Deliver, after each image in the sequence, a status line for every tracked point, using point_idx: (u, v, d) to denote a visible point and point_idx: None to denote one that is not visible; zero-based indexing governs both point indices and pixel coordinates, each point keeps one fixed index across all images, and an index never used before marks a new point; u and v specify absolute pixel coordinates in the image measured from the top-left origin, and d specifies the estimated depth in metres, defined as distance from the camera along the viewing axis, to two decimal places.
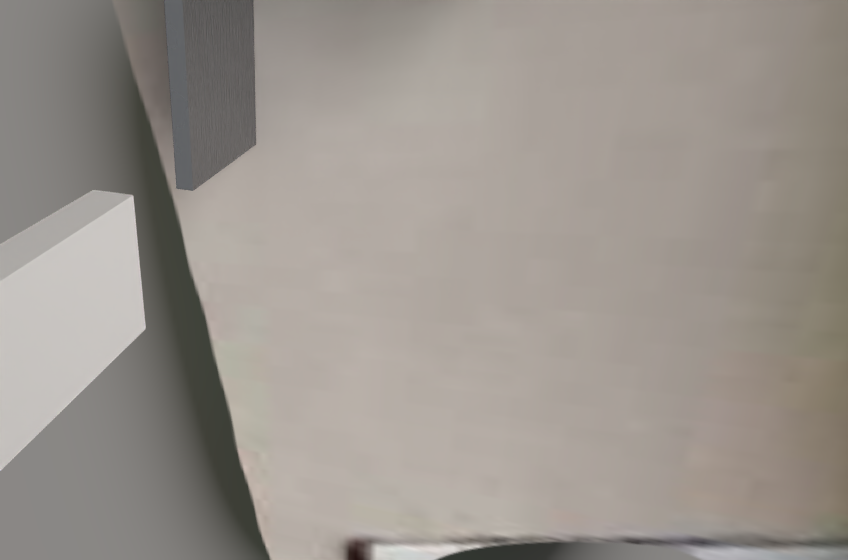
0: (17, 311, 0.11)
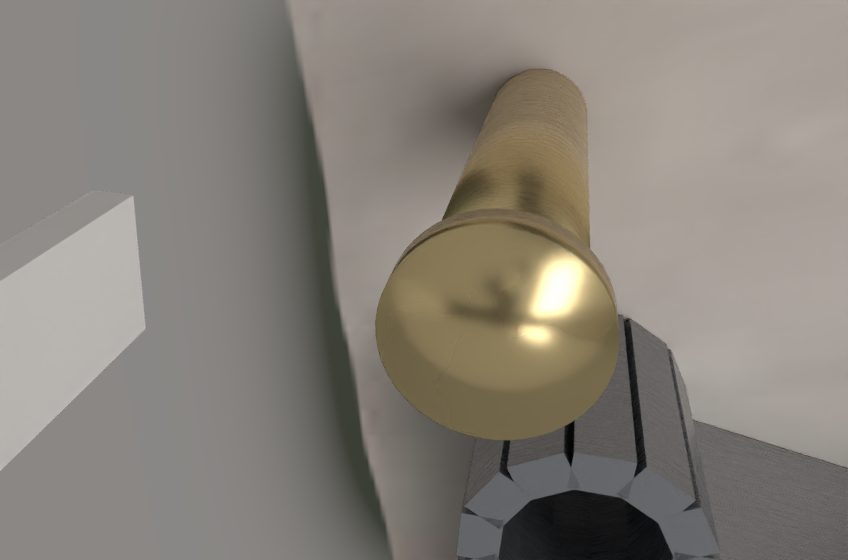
0: (17, 311, 0.11)
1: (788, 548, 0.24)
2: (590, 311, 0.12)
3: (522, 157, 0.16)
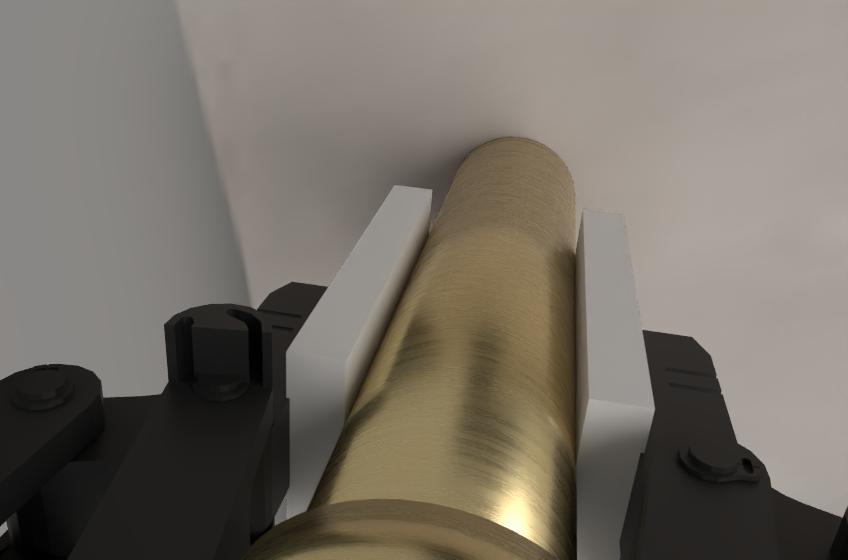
0: (396, 291, 0.13)
1: None
2: None
3: (471, 319, 0.10)
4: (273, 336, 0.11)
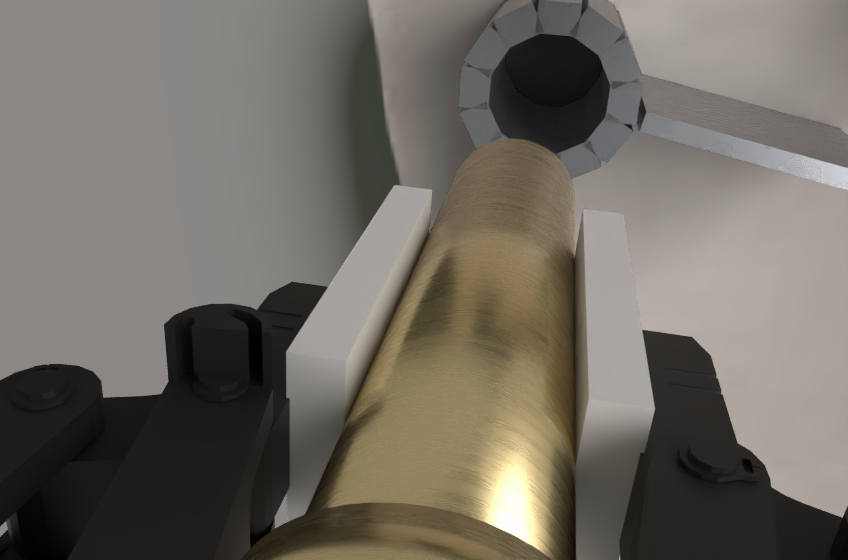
0: (396, 291, 0.12)
1: (698, 112, 0.33)
2: None
3: (470, 322, 0.10)
4: (273, 336, 0.11)
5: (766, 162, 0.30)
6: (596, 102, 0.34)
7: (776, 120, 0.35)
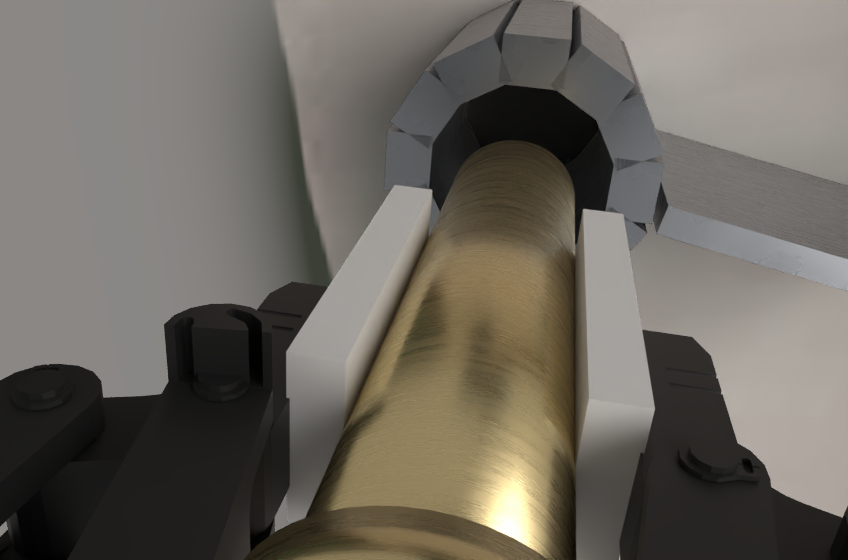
0: (395, 292, 0.13)
1: (742, 199, 0.22)
2: None
3: (471, 324, 0.10)
4: (273, 336, 0.11)
5: None
6: (591, 176, 0.24)
7: None
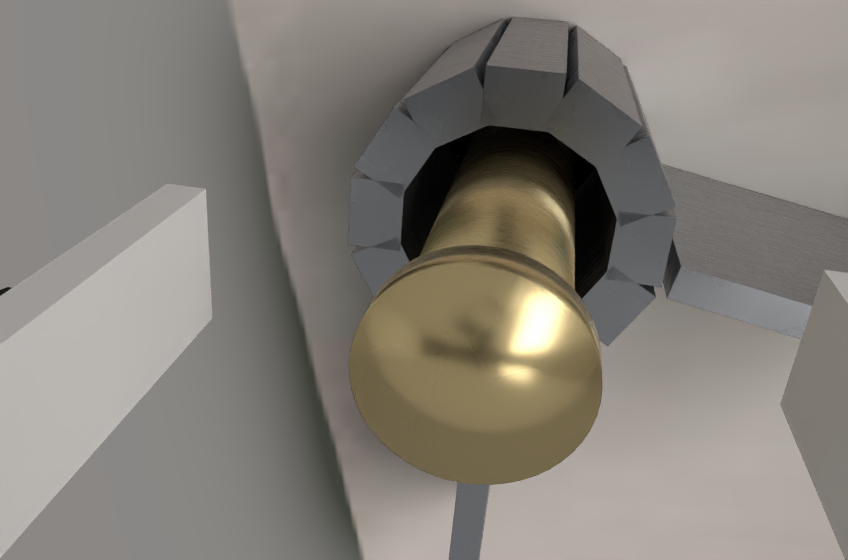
0: (113, 298, 0.12)
1: (765, 252, 0.19)
2: (572, 353, 0.11)
3: (504, 186, 0.15)
4: None
5: None
6: (590, 221, 0.21)
7: None
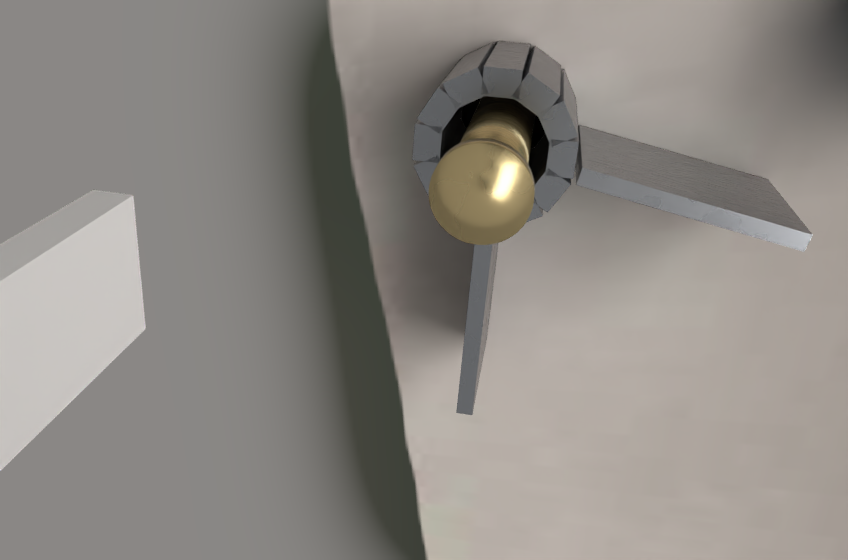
0: (17, 311, 0.11)
1: (633, 166, 0.36)
2: (521, 180, 0.28)
3: (493, 124, 0.32)
4: None
5: (691, 214, 0.34)
6: (541, 154, 0.38)
7: (707, 172, 0.38)
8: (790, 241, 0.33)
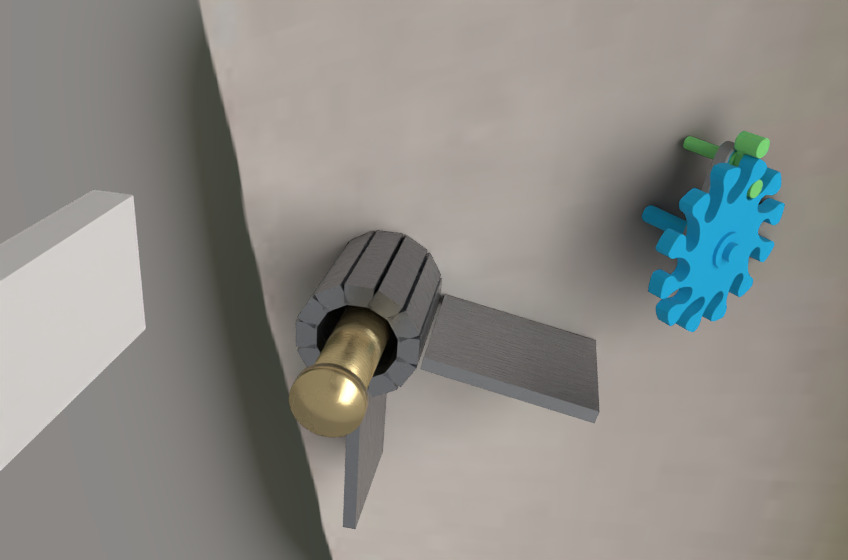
0: (17, 311, 0.11)
1: (471, 346, 0.46)
2: (354, 396, 0.38)
3: (350, 330, 0.42)
4: None
5: (508, 393, 0.43)
6: None
7: (539, 341, 0.48)
8: (583, 415, 0.43)
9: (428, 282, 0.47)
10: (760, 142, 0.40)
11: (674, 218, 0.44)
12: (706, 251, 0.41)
